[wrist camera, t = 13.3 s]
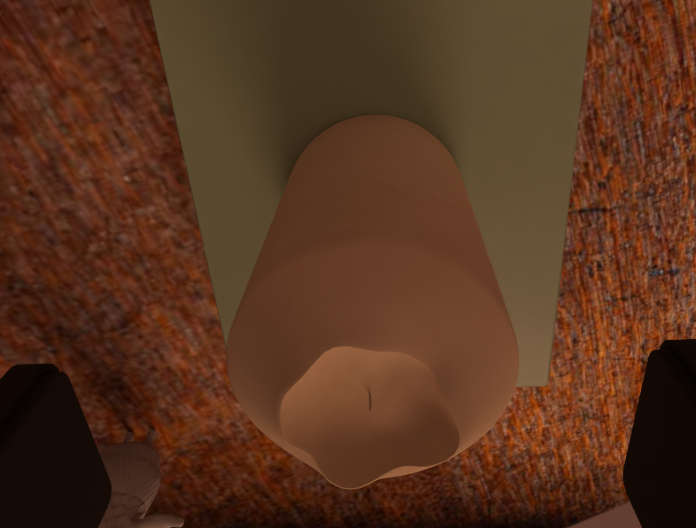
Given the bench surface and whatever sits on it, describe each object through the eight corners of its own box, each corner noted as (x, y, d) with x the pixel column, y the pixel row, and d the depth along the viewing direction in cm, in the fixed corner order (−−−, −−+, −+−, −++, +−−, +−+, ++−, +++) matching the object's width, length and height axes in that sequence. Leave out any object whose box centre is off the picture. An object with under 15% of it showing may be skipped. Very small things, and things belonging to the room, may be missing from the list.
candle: (492, 146, 17) (604, 352, 9) (423, 292, 20) (455, 565, 11) (317, 85, 17) (247, 241, 8) (270, 245, 19) (178, 493, 11)
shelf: (195, -73, 20) (130, -78, 15) (546, -105, 19) (608, -123, 14) (262, 309, 28) (235, 394, 23) (516, 300, 27) (548, 387, 22)
